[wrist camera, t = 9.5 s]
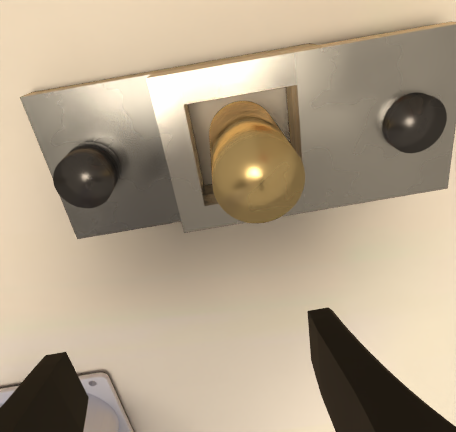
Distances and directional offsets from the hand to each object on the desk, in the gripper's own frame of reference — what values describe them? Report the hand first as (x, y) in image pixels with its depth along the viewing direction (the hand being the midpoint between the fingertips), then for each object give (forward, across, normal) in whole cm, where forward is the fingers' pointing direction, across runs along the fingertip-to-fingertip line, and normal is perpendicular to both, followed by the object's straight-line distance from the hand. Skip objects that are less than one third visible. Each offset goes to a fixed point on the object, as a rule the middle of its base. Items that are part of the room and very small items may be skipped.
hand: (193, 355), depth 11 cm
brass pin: (+10, -3, -4) cm, 11 cm away
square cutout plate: (+10, -3, -4) cm, 11 cm away
